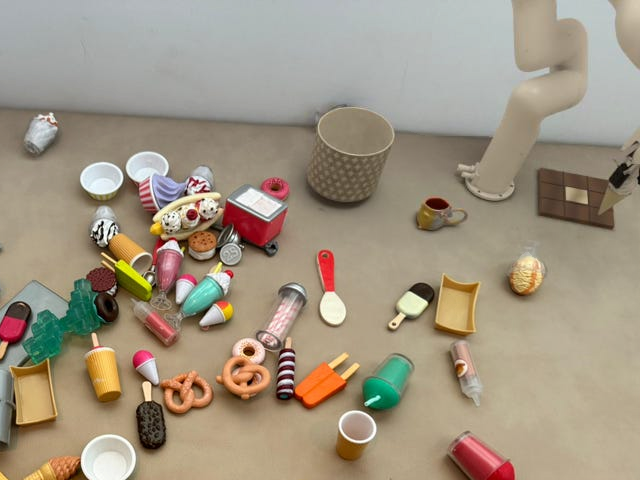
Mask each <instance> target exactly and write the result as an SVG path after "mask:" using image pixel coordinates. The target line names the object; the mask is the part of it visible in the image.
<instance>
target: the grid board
mask: <svg viewBox="0 0 640 480" xmlns="http://www.w3.org/2000/svg"><path fill="white" fill-rule="evenodd" d="M609 182H610V181H609V179H605V178H599V177H594V176H590V175H584V174H578V173H571V172H568V171H567V172H566V171H564V170H563V171H561V170H556V169H550V168H545V167H539V169H538V216H542V217H547V218H552V219H557V220H563V221H567V222H572V223H577V224H583V225H588V226H594V227H598V228H602V229H608V230H613V229H614V228H615V215H614V206H612V207H611V208H609V209H608V210H606V211H605V212H603V213H602V214H600V215H598V212H599V210H600V207H601V204H602V201H603V199H604V196H605V193H606V191H607V188H608V183H609Z"/></svg>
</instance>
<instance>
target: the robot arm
mask: <svg viewBox="0 0 640 480" xmlns="http://www.w3.org/2000/svg"><path fill="white" fill-rule="evenodd" d="M510 1H511V7H512V16H513V17H512V19H513V20H512V25H513V52H514V55H513V56H514V62H515V65H516V67H517V69H518V70H519V71H521V72H523V73H532V72H537V71H539V70H544V69H547V68H548V69H549V72H548V73H544V74H541V75H538V76H534V77H531V78H529V79H527V80H524V81H522V82H521V83H520V84H518V85H517V86H516V87H514V89H513V90H512V91H511V93H510V95H509V97H508V101H507V105H506V108H505V111H504V114H503V116H502V119H501V120H500V123H499V125H498V127H497V128H496V131H495V133H494V134H493V137H492V139H491V140H490V143H489V144H488V146H487V148H486V150H485V152H484V154H483V156H482V158H481V160H480V162H479V161H476V163H475V164H474V165H473V164H471V165H467V164H462V163H458V165H457V168H456V171H457V172H460V173H461V175H460V177H461V178H464V179H465V180H464V181H465V186H466V188H467V190H469V192H470V193H472V194H473V195H474V196H476V197H478V198H480V199H483V200H486V201H493V202H494V201H495V202H496V201H497V202H498V201H504V200H506V199H508V198H510V197H511V195H512V194H513V193H514V190H515V182H514V179H515V177H516V176H517V174H518V172H519V170H520V169H521V167H522V165H523V164H524V162H525V160H526V159H527V157H528V155H529V154H530V152H531V151H532V148H533V147H534V145H535V143H536V141H538V138H539V135H540V133H541V124H542V122H543V121H544V119H545V118H548V117H549V116H553V115H555V114H558V113H561V112H563V111H566V110H570V109H571V108H574V107H576V106H577V105H578V104H580V103H581V102H582V101H583V99H584V97H585V95H586V93H587V89H588V85H589V84H588V83H589V36H588V33H587V30H586V28H585V26H584V24H583V23H582V22H581V21H580V20H579V19H576V18H573V17H565V18H559V19H558V16H557V15H558V14H557V10H558V9H557V0H510ZM607 1H608V2H609V3H610V4H611V6H612V7H613V8H614V10H615V18H614V30H615V37H616V40H617V43H618V46H619V48H620V49H621V51H622V52H623V53H624V54H625V56H626V57H627V58H628V60H629V61H630V62H631V63H632V65H634V67H636V68H637V69H638V70H639V71H640V0H607ZM612 160H613V161H614V163H616V168H615V170H614V171H613V172H612V174H611V175H610V176H609V177H608V180H609V181H610V183H611V184H612V185H613V186H614V187H615V189H618V188H620V187H621V185H622V184H623V183H624V182H625V181H626V179H627V178H628V177H629V176H630V174H629V173H630V172H631V171H632V170H633V169H634V168H635V167H636V166H637V165H638V164H640V126H638V128H637V129H636V130H635V131H634V132H633V133H632V134H631V136H630V137H629V138H628V139H627V140H626V142H624V144H623V146H622V147H621V148H620V153H619V154H618V155H616V156H614V158H613V159H612ZM628 162H630V163H631V164H629V165H628V164H627V163H628ZM637 179H638V184H637V185H639V186H640V167H639V176H638V177H637Z"/></svg>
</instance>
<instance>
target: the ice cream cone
mask: <svg viewBox="0 0 640 480" xmlns="http://www.w3.org/2000/svg"><path fill="white" fill-rule="evenodd" d="M639 167H640V164H638V165H637V166H636V167H635V168H634V169H633V170H632V171H631V172H630V173H629V174H630V176H629V177H628V178H627V179H626V181H625V182H624V183H623V184H622V185H621V187H620V188H618V189H615V187H614V186H613V185H612V184H611V183H610V182H609V183H608V188H607V191H606V193H605V196H604V199H603V201H602V204H601V207H600V210H599V212H598V215H600V214H602V213H603V212H605V211H606V210H608V209H609V208H611V207H612V206H613V207H614V206H615V205H617V204H618V203H620V202H621V201H622V200H624V199H626V198H627V197H629V196H630V195H631V196H632V194H633V192H634V191H635V190H636V188H637V187H638V185H639V184H638V179H637V177H638V176H639Z"/></svg>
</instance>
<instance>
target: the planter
mask: <svg viewBox="0 0 640 480" xmlns="http://www.w3.org/2000/svg"><path fill="white" fill-rule="evenodd" d="M313 140H314V142H313V145H312V149H311V153H310V157H309V162H308V166H307V171H306V179H307V181H308V184H309V185H310V187H311V188H312V189H313V190H314V191H315V192H316V193H317V194H319V195H320V196H322V197H323V198H326V199H329V200H331V201H335V202H340V203H341V202H342V203H353V202H359V201H362V200H364V199H367V198H368V197H370V196H371V195H373V193H374V192H375V191H376V189H377V187H378V185H379V182H380V179H381V177H382V174H383V170H384V168H385V165H386V164H387V163H386V162H387V160H388V157H389V154H390V152H391V149H392V146H393V143H394V140H395V130H394V128H393V126H392V124H391V122H389V120H387V119H386V117H384V116H383V115H381V114H379V112H375V111H373V110H371V109H368V108H364V107H363V108H362V107H358V106H356V107H355V106H345V107H339V108H334V109H332V110H330V111H327V112H326V113H325V114H324V115H322V116H321V118H320V119H319V121H318V124H317V126H316V131H315V136H314V139H313Z"/></svg>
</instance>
